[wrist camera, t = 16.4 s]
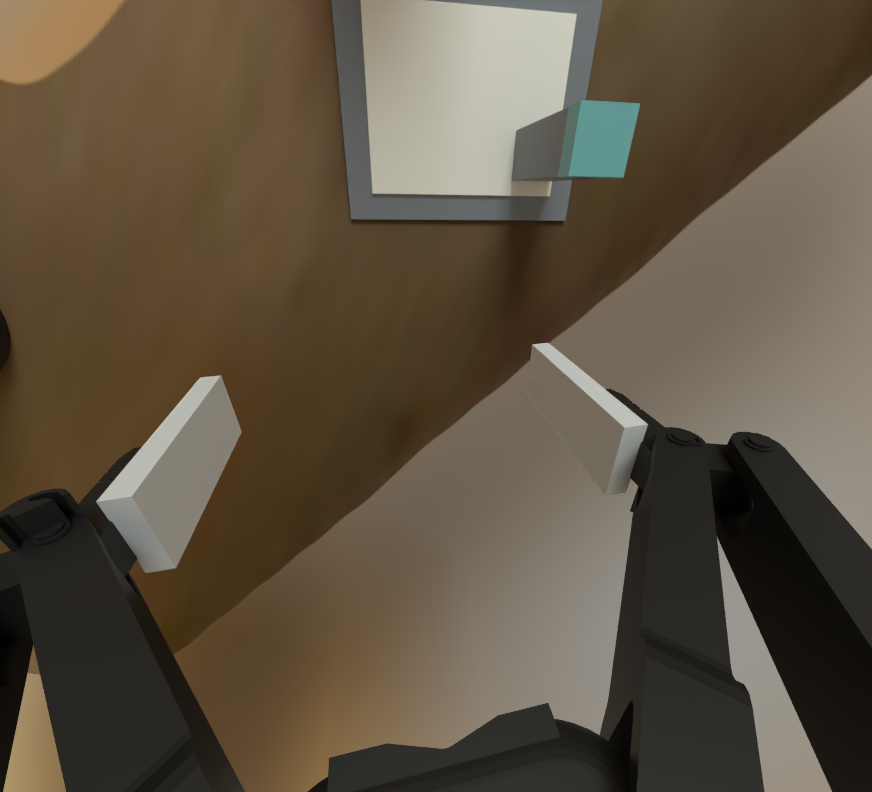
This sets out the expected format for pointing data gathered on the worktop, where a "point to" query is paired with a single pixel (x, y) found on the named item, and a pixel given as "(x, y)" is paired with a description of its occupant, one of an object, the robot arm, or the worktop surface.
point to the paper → (455, 102)
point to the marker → (576, 143)
